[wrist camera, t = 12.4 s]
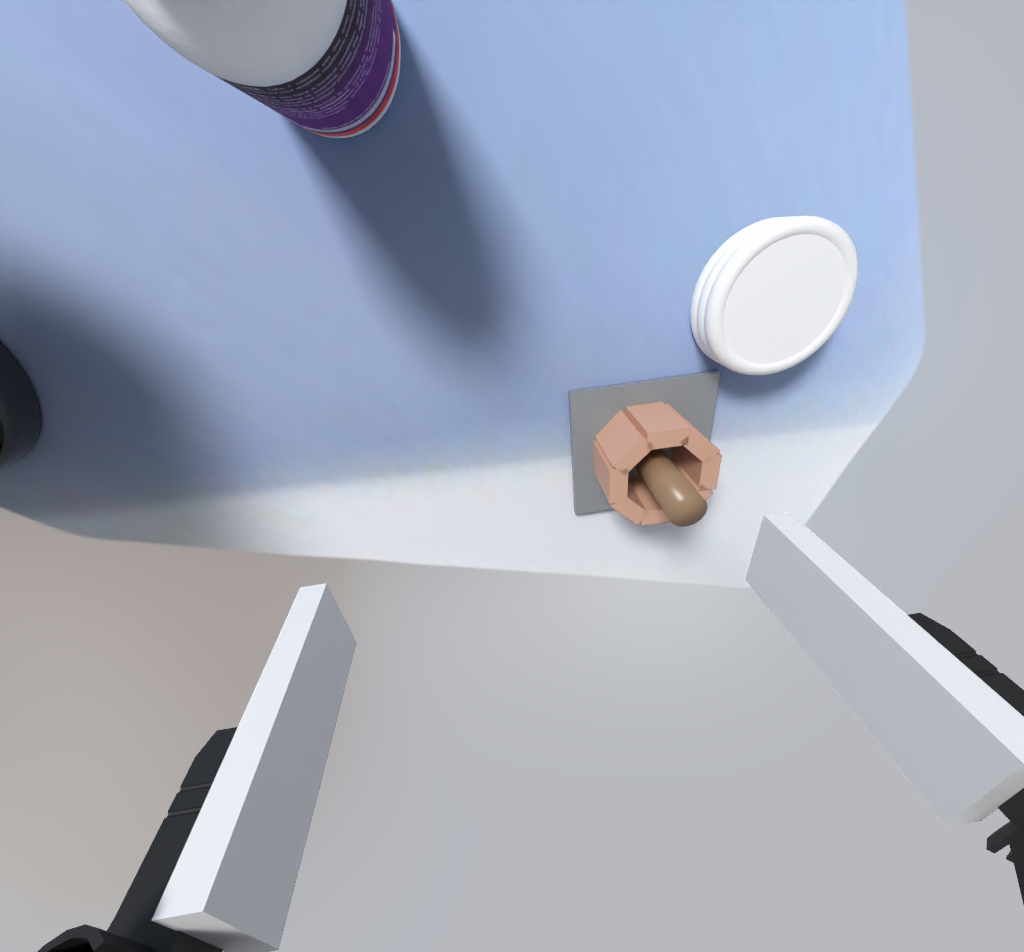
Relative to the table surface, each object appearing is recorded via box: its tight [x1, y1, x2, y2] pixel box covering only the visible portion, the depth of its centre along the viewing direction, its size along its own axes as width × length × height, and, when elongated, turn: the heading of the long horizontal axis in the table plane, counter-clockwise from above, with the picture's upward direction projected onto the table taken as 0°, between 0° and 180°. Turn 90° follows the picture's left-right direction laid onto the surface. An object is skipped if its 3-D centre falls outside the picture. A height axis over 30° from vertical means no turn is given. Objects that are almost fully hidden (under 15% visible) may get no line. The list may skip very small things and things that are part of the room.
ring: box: [593, 402, 722, 526], centre depth 33 cm, size 8×8×5 cm
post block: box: [569, 370, 721, 526], centre depth 31 cm, size 12×12×10 cm
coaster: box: [690, 216, 858, 375], centre depth 28 cm, size 10×10×4 cm
